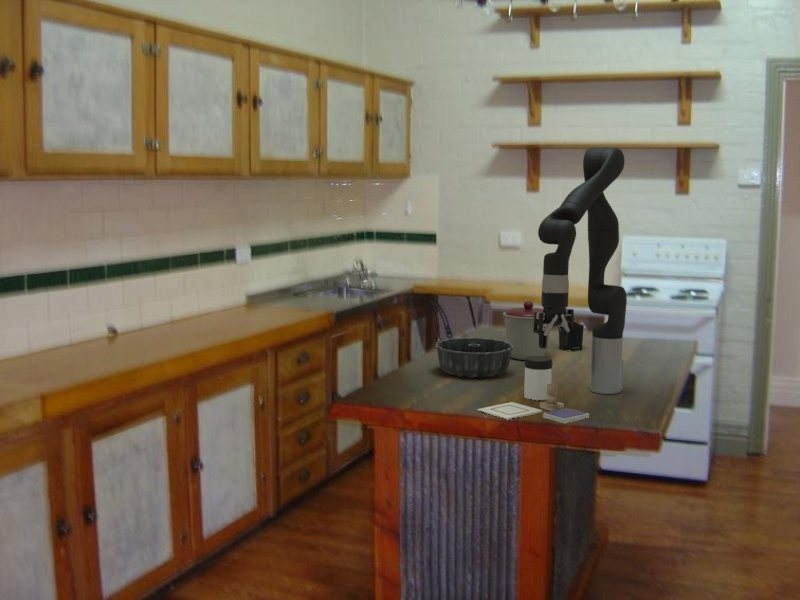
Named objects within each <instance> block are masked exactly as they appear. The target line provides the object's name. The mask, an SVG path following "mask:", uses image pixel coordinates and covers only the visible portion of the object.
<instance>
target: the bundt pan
mask: <svg viewBox="0 0 800 600" xmlns="http://www.w3.org/2000/svg"><path fill="white" fill-rule="evenodd" d="M435 348H436V349H437V357H438V363H439V367H440V368H441V370H442V371H444V373H447V374H449V375H451V376H457V377H458V378H464V377H466V378H469V379H474V378H476V377H477V378H479V379H482V378H484V377H486V378H492V377H498V376H500V375H501V376H502V374H503V373H504V372H505V371H506V370H507V369H508V368H509V366H510V363H511V358H512V357H511V352H512V349H513V348H514V346H512V343H507V340H506V341H505V340H500V339H495V338H486V337H459V338H458V337H456V338H454V337H453V338H447V339H442V340H440V341H437V342H436V343H435Z"/></svg>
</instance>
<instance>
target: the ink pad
mask: <svg viewBox="0 0 800 600" xmlns="http://www.w3.org/2000/svg"><path fill="white" fill-rule="evenodd" d="M542 418H544V419H548V420H550V421H554V422H557V423H561V424H569V422H570V423H573V422H577V421H581V420H586V419H589V418H590V413H588V412H584V411H582V410H581V411H580V410H577V409H572V408H569V407H565V408H564V409H560V410H556V411H551V412H550V411H546V412H542ZM585 418H586V419H585Z"/></svg>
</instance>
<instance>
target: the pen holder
mask: <svg viewBox="0 0 800 600" xmlns="http://www.w3.org/2000/svg"><path fill="white" fill-rule="evenodd" d="M569 325H570V321H569ZM584 326H585V325H584V324H580V323H578V322H575V321H574V329H573V330H570V331H569V332H568V342H567V345H560V332H562V331H561V330H560V328H559V327H558V348H559V350H561V349H562V350H561V351H564V350H571V351H570V352H576V351H575V350H580V351H582V350H583V340H584V328H585V327H584Z"/></svg>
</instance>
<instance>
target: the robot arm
mask: <svg viewBox="0 0 800 600" xmlns="http://www.w3.org/2000/svg"><path fill="white" fill-rule="evenodd" d="M624 168H625V155H624V153H623V150H621V149H620V148H618V147H614V146H613V147H611V146H606V147H604V146H603V147H602V146H600V147H599V146H597V147H596V146H595V147H594V146H593V147H589V148H587V150H585V152H584V154H583V161H582V169H583V177H584V182H582V183H581V184H579V185H578V186H576V187H575V188H574V189H572V190H571V191H570V192H568V194H567V195H566V196H565V198H564V200H563V201H562V203H561V204H560V206H559V207H557V208H556V209H554V211H552V212H551V213H549V214H548V215H547V216H546V217H545V218H544V219H542V221H541V222H540V224H539V226H538V231H537V235H538V238H539V240H540V241H541V242H542V243H543V244H546V245H557V248H556V250H555V252H549V253H546V254H545V255H544V257H543V268H542V272H543V273H542V281H541V298H540V300H541V303H540V305H541V306H542V309H543V312H535V315H534V328H533V332H534V333H537V334H539V347H540V348H543V349H545V348H547V349H548V345H547V336H546V335H547V333H548V331H549V330H550V331H551V330H552V328H553V327H556V326H557V327H558V329H559V328H560V330H561V331H562V332H560V345H567V342H568V332H569V331H570V330H573V329H574V322H575V321H574V320H575V318H574V317H575V310H574V309H573V308H568V307H569V291H570V289H569V288H570V287H569V286H570V280H569V279H570V278H569V267H570V266H569V263H570V262H569V261H570V257H571V255H572V250H573V247H574V244H575V242H576V238H577V228H576V226H575V225H577V224H578V223H579V222H581V220H582V218H583V217H584V216H585V214H586V212H587V240H588V241H587V242H588V264H589V265H588V267H589V268H588V284H587V286H588V287H587V304H588V305H587V306H588V308H589V310H590V312H592V313H593V314H598V315H605V316H608V317H607V321H606V322H605V323H602V324H598V325H595V326H593V328H592V332H591V333H592V334H591V362H590V363H591V364H590V365H591V366H590V391H591V392H593V393H597V394H602V395H603V394H604V395H615V394H619V393H621V391H623V385H624V384H623V382H624V363H625V362H624V360H623V340H624V339H623V338H624V337H623V336H624V330H625V324H626V315H627V314H626V312H627V303H628V302H627V301H628V300H627V299H628V297H627V292H626V289H625V288H624V286H623V287H622V286H620V285H612V284H605V272H606V268H607V266H608V264H609V262H610V261H611V258H612V257H613V255H614V254H615V252H616V250H617V249H618V246H619V243H620V227H619V225H620V224H619V219H618V217H617V214H616V213H615V211H614V210H613V208H612V206H611V204H610V203H609V201H608V200H607V197H606V196H605V193H604V191H605V190H606V189H608V188H609V187H610V186H611V184H612V183H614V181H616V180H617V178H619V176H620V175H621V174H622V172H623V170H624ZM569 322H570V325H569ZM545 323H546V324H545ZM538 325H539V329H538ZM543 330H544V331H543Z"/></svg>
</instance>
